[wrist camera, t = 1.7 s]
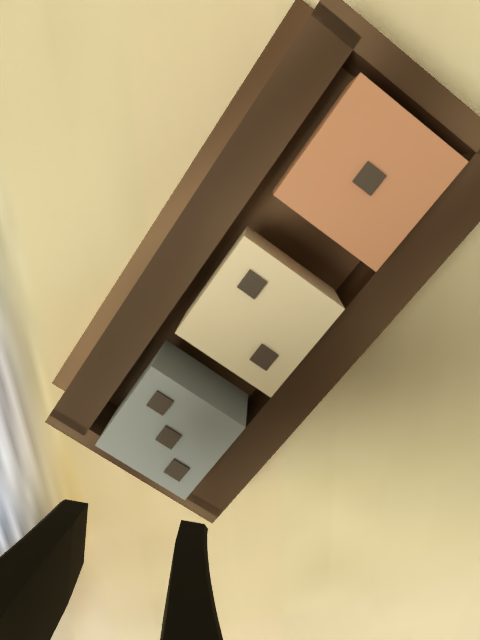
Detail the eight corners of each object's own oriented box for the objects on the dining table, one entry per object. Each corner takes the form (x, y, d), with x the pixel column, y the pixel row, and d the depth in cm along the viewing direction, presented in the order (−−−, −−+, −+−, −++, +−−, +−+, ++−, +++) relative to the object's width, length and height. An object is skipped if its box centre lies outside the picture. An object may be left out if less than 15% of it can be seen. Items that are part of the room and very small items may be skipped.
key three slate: (248, 394, 19) (245, 429, 16) (194, 460, 20) (184, 501, 17) (166, 339, 18) (150, 367, 16) (115, 411, 19) (93, 447, 17)
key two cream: (333, 288, 17) (345, 309, 15) (270, 367, 18) (270, 399, 16) (247, 225, 17) (243, 236, 14) (186, 310, 18) (174, 334, 15)
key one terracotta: (437, 162, 15) (470, 161, 13) (360, 257, 17) (376, 272, 14) (345, 87, 15) (361, 71, 12) (272, 190, 16) (273, 195, 14)
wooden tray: (505, 176, 17) (553, 179, 15) (233, 487, 23) (229, 533, 20) (296, 2, 16) (303, -33, 13) (57, 377, 21) (25, 410, 18)
